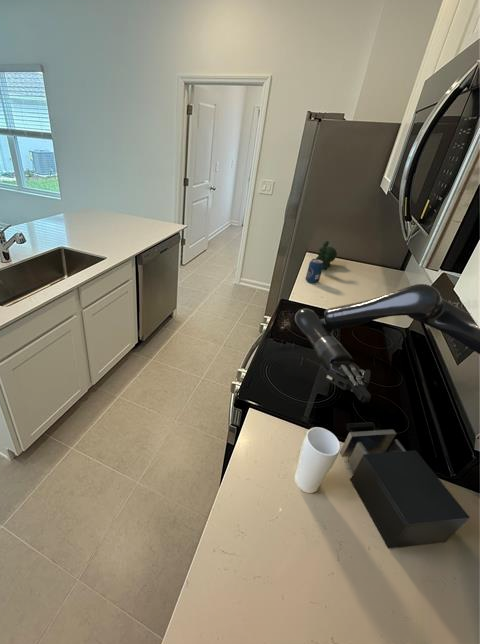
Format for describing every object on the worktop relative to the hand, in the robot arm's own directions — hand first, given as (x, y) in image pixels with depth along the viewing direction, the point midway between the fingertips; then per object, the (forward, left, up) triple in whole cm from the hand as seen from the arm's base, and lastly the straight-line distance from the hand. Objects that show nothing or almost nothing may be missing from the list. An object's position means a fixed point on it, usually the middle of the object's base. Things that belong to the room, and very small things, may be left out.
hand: (367, 399), depth 75 cm
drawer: (+1, +10, -12) cm, 16 cm away
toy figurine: (-49, -113, -13) cm, 124 cm away
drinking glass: (+18, +11, -13) cm, 25 cm away
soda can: (-32, -93, -13) cm, 99 cm away
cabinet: (+1, +18, -13) cm, 23 cm away
